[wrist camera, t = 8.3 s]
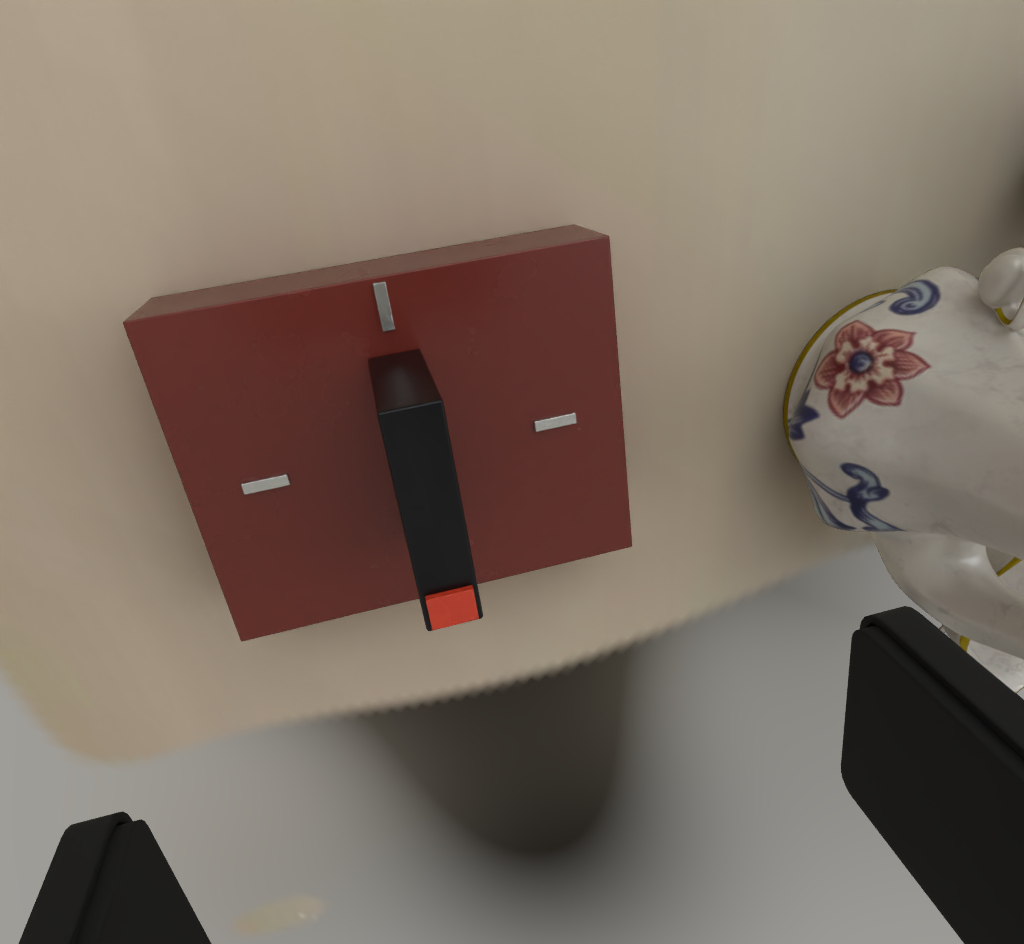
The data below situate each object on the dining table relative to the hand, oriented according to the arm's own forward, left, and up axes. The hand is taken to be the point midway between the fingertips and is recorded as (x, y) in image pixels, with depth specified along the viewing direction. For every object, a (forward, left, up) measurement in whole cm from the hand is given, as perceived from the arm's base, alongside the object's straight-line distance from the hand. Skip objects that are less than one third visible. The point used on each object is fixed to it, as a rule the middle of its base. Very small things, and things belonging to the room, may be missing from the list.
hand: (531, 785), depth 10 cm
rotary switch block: (0, +1, -18) cm, 18 cm away
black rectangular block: (0, +1, -15) cm, 15 cm away
